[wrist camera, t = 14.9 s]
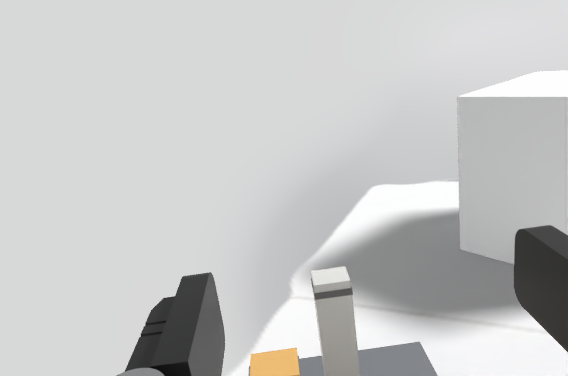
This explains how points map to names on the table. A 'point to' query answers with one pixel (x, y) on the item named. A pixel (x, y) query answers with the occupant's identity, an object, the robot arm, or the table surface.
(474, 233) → the cube
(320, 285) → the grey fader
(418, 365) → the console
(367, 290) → the table surface
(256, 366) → the amber fader
